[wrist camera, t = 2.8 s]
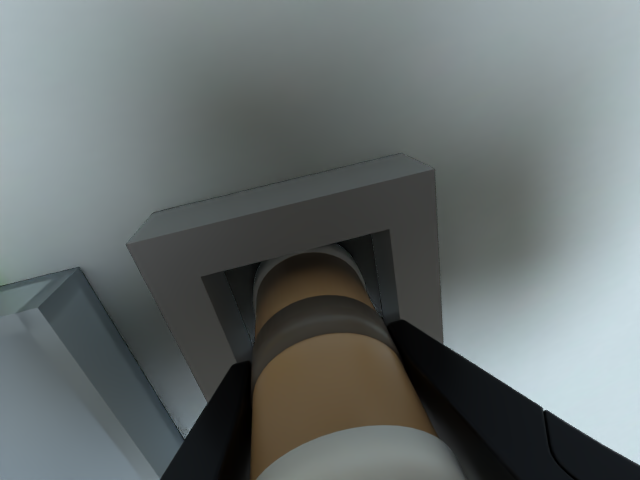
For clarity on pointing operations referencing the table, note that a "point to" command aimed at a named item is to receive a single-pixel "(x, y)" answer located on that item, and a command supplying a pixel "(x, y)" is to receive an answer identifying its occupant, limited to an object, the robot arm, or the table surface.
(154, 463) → the parts tray
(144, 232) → the fuse block
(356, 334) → the fuse
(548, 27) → the table surface
